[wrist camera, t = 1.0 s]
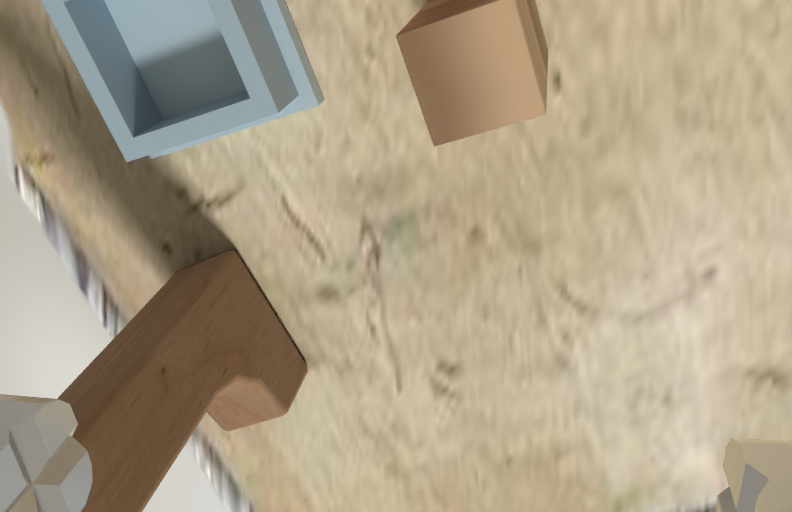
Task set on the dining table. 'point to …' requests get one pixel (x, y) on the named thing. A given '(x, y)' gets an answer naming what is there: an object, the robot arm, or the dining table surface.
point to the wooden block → (180, 379)
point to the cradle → (185, 67)
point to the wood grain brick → (476, 65)
